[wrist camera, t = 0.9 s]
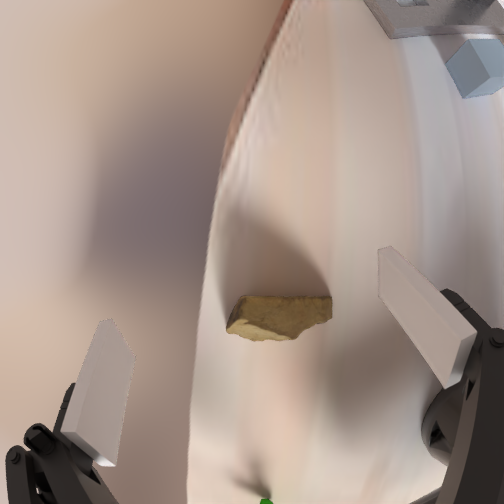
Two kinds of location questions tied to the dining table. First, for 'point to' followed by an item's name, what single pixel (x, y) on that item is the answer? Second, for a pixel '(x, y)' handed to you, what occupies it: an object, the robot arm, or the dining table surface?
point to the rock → (277, 316)
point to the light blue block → (478, 67)
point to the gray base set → (438, 17)
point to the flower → (265, 501)
